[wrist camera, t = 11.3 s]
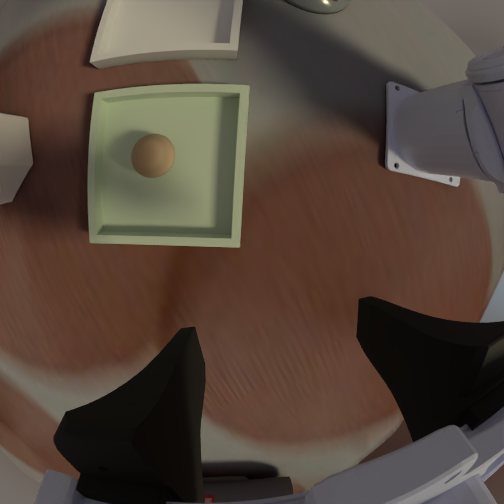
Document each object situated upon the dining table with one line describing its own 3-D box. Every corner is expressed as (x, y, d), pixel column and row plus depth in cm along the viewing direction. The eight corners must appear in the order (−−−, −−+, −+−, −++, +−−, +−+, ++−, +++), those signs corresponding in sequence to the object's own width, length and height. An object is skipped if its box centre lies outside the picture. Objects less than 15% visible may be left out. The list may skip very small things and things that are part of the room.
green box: (247, 93, 18) (249, 85, 16) (238, 241, 21) (239, 247, 19) (104, 97, 17) (94, 92, 15) (99, 237, 20) (89, 242, 18)
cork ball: (180, 136, 18) (171, 129, 15) (177, 177, 19) (169, 178, 16) (140, 137, 18) (126, 132, 15) (138, 177, 18) (123, 179, 15)
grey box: (246, -32, 14) (248, -43, 12) (236, 59, 17) (237, 50, 15) (126, -24, 13) (121, -33, 11) (98, 69, 16) (89, 62, 14)
